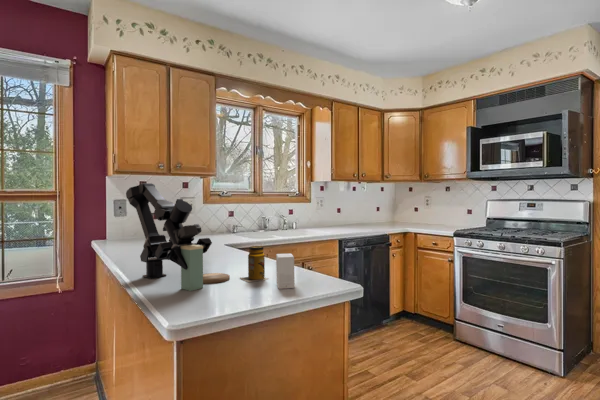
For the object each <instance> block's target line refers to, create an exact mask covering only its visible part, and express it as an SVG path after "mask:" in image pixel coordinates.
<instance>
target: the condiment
mask: <svg viewBox="0 0 600 400" xmlns="http://www.w3.org/2000/svg"><path fill="white" fill-rule="evenodd" d="M248 249H249V250H248V255H247V261H248V262H247V263H248V265H247V266H248V267H247V268H248V269H247V270H248V271H247V272H248V273H247V274H248V276H246V277H244V276H243V277H240V280H243V282H244V281H245V282H246V283H251V282H259V281H265V280H269V278H266V277H265V276H266V275H265V274H266V273H265V267H266V266H265V258H266V257H265V253H264V246H263V245H262V246H261V245H252V246H250V247H249V248H248Z"/></svg>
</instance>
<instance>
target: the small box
mask: <svg viewBox="0 0 600 400" xmlns="http://www.w3.org/2000/svg"><path fill="white" fill-rule="evenodd" d="M275 259H276V262H275V263H276V264H275V265H276V266H275V268H276V272H275V273H276V285H277V289H279V290H283V289H295V286H296V285H295V282H296V281H295V256H294V255H293V254H292V253H276V254H275Z"/></svg>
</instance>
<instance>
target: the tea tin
mask: <svg viewBox="0 0 600 400" xmlns="http://www.w3.org/2000/svg"><path fill="white" fill-rule="evenodd" d="M181 254H182V256H183V258H184V260H185V262H186V264H187V267H188V268H187V270H185V269H184V268H182V267H181V266H180V281H181V282H180V285H181V287H180V288H181V289H183V290H186V291H189V292H192V291H196V290H200V289H203V288H204V284H203V274H204V255H203V254H204V253H203V246H201V245H186V246H181ZM181 289H180V290H181Z"/></svg>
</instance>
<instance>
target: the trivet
mask: <svg viewBox="0 0 600 400" xmlns="http://www.w3.org/2000/svg"><path fill="white" fill-rule="evenodd" d="M230 279H231V277H230V275H229V274H228V273H223V272H209V273H203V285H205V284H206V285H207V284H209V285H212V284H213V285H214V284H221V283H224V282H228V281H229V280H230Z"/></svg>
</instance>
